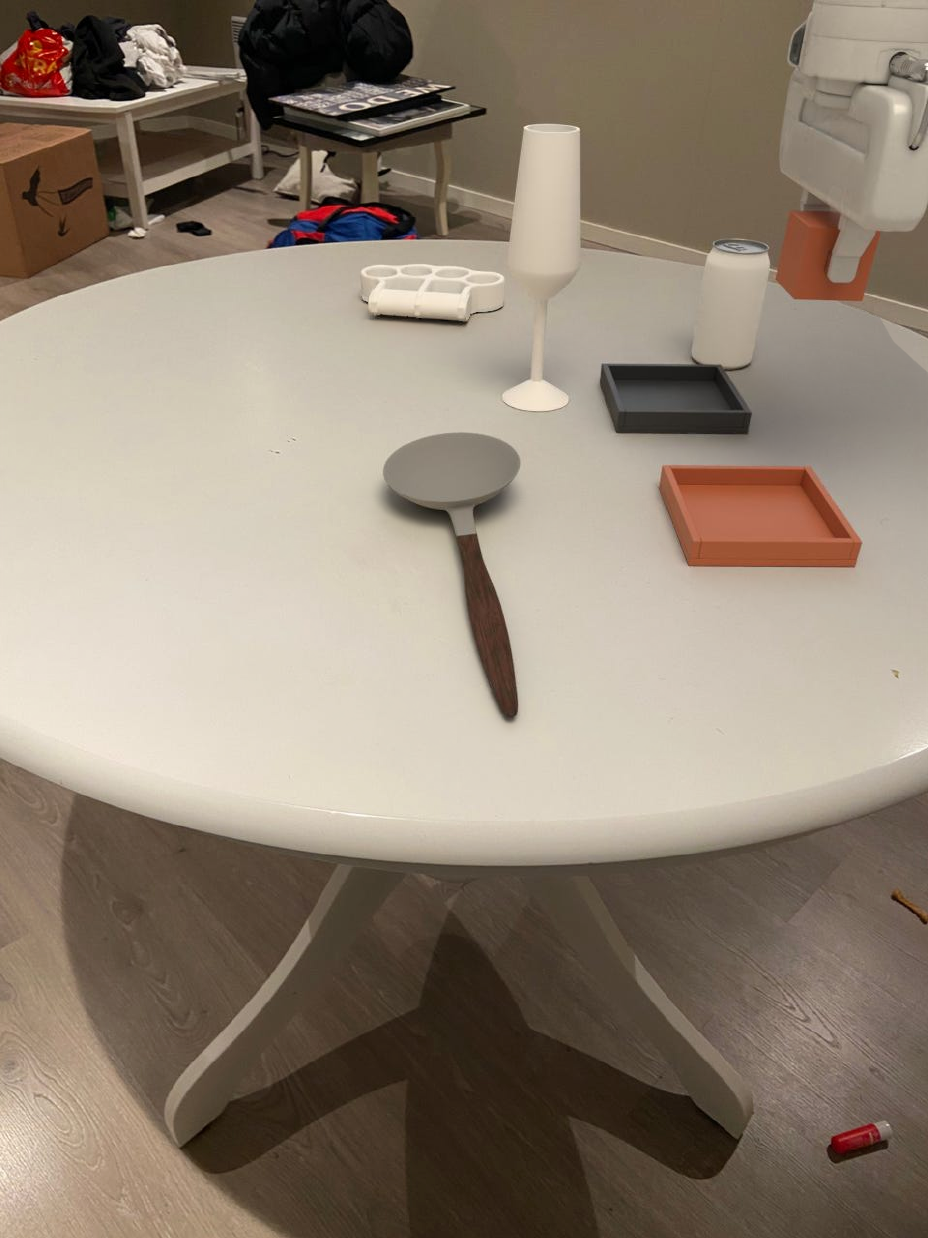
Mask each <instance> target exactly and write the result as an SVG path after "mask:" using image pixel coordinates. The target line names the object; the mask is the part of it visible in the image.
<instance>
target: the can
mask: <svg viewBox="0 0 928 1238" xmlns="http://www.w3.org/2000/svg"><path fill="white" fill-rule="evenodd" d="M769 250H770V247H769V245H768V244H766V243H764V242H761V241H758V240H753V239H746V238H721V239H718V240H717V239H716V240H714V241H713V242H712V249H711V250H710V252H709V253H708V254H707V256H706V259H705V264H704V269H703V275H702V281H701V289H700V293H699V302H698V306H697V307H698V308H697V312H696V313H697V314H696V320H695V327H694V334H693V340H692V346H691V357H692V358H693V360H694V361H695V363H696V364H712V365H722V367H723V368H724V370H725V371H733V370H734V371H735V370H739V369H743V368H745V367H747V366H748V365H749V364H750V363H751V362H752V360H753V355H754V351H755V346H756V341H757V336H758V330H759V327H760V321H761V316H762V311H763V305H764V301H765V300H764V299H765V295H766V290H767V284H768V279H769V274H770V269H771V261H770V256H769Z"/></svg>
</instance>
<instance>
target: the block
mask: <svg viewBox="0 0 928 1238" xmlns="http://www.w3.org/2000/svg"><path fill="white" fill-rule="evenodd" d="M840 216H841V214H840V213H839V212H838V211H836V210H835V211H831V210H830V211H801V209H800V210H798V209H797V210H796V209H792V210H789V214H788V218H787V223H786V228H785V231H784V236H783V242H782V246H781V251H780V255H779V260H778V264H777V269H776V273H775V281H776V282H777V283H778V284H779V285H780V287H781V288H783V290H785V292H786V293H787V294H788V295H789V296H790V297H791V298H792V299H793V300H802V301H803V300H805V301H842V302H843V301H844V302H862V301H863V300H864V296H865V292H866V290H867V289H866V288H867V286H868V281H869V278H870V275H871V274H870V273H871V270H872V267H873V266H872V265H873V263H874V258H875V255H876V251H877V248H878V244H879V240H880V236H881V232H882V231H876V233H875V236H874V237H873V239H872V240H871V242H870V243H869V245H868V247H867V248H866V250H865V251H864V253H863V255H862V256H861V257H860V260H859V264H858V268H857V272H856V275H855V278H854V280H853V281H851V282H849V283H833V282H832V281H831V280H830V279H829V278H827V277H826V275H825V274H824V267H825V265H826V258H827V254H828V251H833V248H834V246H835V243H836V241H837V238H838V236H839V233H840V230H839V229H838V224H839V220H840Z"/></svg>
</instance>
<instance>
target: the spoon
mask: <svg viewBox="0 0 928 1238" xmlns="http://www.w3.org/2000/svg"><path fill="white" fill-rule="evenodd" d="M520 468H521V456H520V454H519V453H518V451H517V450H516V449H515V448H514V447H513V446H512V445H511V444H509V443H508V442H507V441H504V440H502V439H501V438H497V437H495V436H492V435H487V434H482V433H475V432H462V431H461V432H444V433H438V434H431V435H428V436H424V437H421V438H418V439H416V440H415V439H414V440H412V441H410V442H408V443H406V444H404V445H401V447H399V448H397V449H396V450H395V451H393V452H392V454H390V456H389V457H388V458H387V459H386V460H385V462H384V465H383V469H382V476H383V478H384V481H385V483H386V484H387V485H388V486H389V487H390V489H391V490H393V491H394V492H396V494H398V496H399V495H400V497H402V498H404V499H406V500H407V501H409V502H411V503H414V504H417V505H419V506H422V507H425V508H428V509H433V510H440V511H446V512H447V514H448V516H449V517H450V519H451V523H452V527H453V530H454V533H455V538H456V542H457V546H458V549H459V552H460V558H461V564H462V569H463V580H464V581H463V583H464V591H465V599H466V605H467V610H468V616H469V620H470V624H471V628H472V633H473V636H474V639H475V643H476V646H477V651H478V653H479V655H480V656H479V657H480V659H481V661H482V665H483V667H484V670H485V673H486V675H487V678H488V681H489V684H490V686H491V688H492V691H493V694H494V696H495V698H496V701H497V703H498V705H499V708H500V710H501V711H502V713H503V714H504V715H505V716H506V717H508V718H514V717H515V716H517V715H518V712H519V696H518V687H517V678H516V670H515V663H514V657H513V651H512V645H511V640H510V636H509V631H508V627H507V623H506V620H505V619H506V618H505V616H504V615H505V614H504V612H503V608H502V605H501V601H500V598H499V595H498V593H497V590H496V587H495V585H494V582H493V580H492V578H491V576H490V573H489V571H488V568H487V565H486V563H485V560H484V557H483V554H482V549H481V545H480V541H479V537H478V532H477V528H476V524H475V518H474V508H475V507H476V506H478V505H480V504H484V503H485V502H487V501H489V500H490V499H492V498H494V497H495V496H497V495H498V494H500V493H501V492H502V491H504V490H505V489H506V488H508V486H509V485H510V484H511V483H512V482H513V481H514V479H515V478H516V477H517V475H518V474H519V471H520V470H521V469H520Z"/></svg>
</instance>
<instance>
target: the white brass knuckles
mask: <svg viewBox="0 0 928 1238" xmlns="http://www.w3.org/2000/svg"><path fill="white" fill-rule="evenodd" d="M359 274H360V275H359V276H360V295H361V294H362V295H364V296H366V297H368V298H369V302H368V303H367V305H368V306H367V307H368V308H367V309H368V312H369V313H370V314H372V315H374V314H375V315H374V316H376V315H379V314H382V315H383V316H385V315H386V316H394V315H395V316H396V317H407V316H408V317H407V318H416V319H418V318H422V319H433V320H448V321H459V322H460V321H463V322H462V323H465V322H468V321H469V320H470V318H469V317H471V315H470V314H471V311H473V310H476V309H486V308H492V307H495V306H498V305H500V304H501V303H503V301H504V302H505V286H506V285H505V284H506V283H505V282H506V279H505V276H503V275H502V274H501V273H498V272H495V271H481V270H473V269H469V268H467V267H463V266H456V265H433V264H427V263H410V264H403V265H401V264H400V265H389V264H373V265H370V266H366V267H364V268H362V269H361V271H360V273H359ZM468 319H469V320H468Z"/></svg>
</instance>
